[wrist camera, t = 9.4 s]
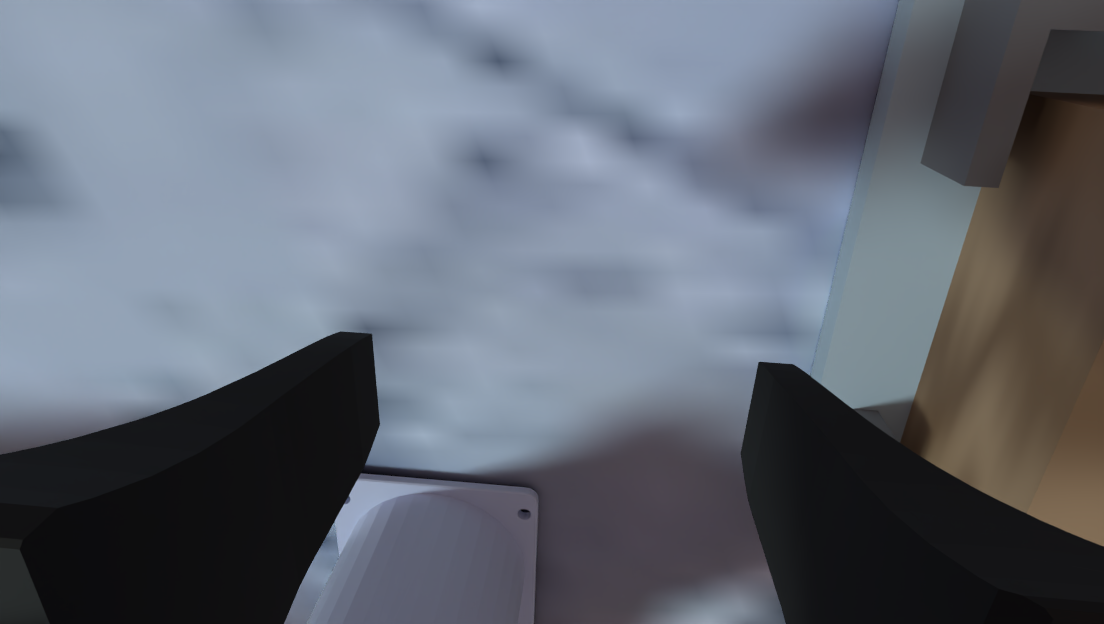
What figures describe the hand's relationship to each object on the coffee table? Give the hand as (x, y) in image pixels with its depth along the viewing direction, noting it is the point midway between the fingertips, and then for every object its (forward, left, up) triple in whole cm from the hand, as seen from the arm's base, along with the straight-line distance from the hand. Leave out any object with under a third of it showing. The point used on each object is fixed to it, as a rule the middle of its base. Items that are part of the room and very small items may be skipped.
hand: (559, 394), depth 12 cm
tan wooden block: (-1, -13, -8) cm, 16 cm away
